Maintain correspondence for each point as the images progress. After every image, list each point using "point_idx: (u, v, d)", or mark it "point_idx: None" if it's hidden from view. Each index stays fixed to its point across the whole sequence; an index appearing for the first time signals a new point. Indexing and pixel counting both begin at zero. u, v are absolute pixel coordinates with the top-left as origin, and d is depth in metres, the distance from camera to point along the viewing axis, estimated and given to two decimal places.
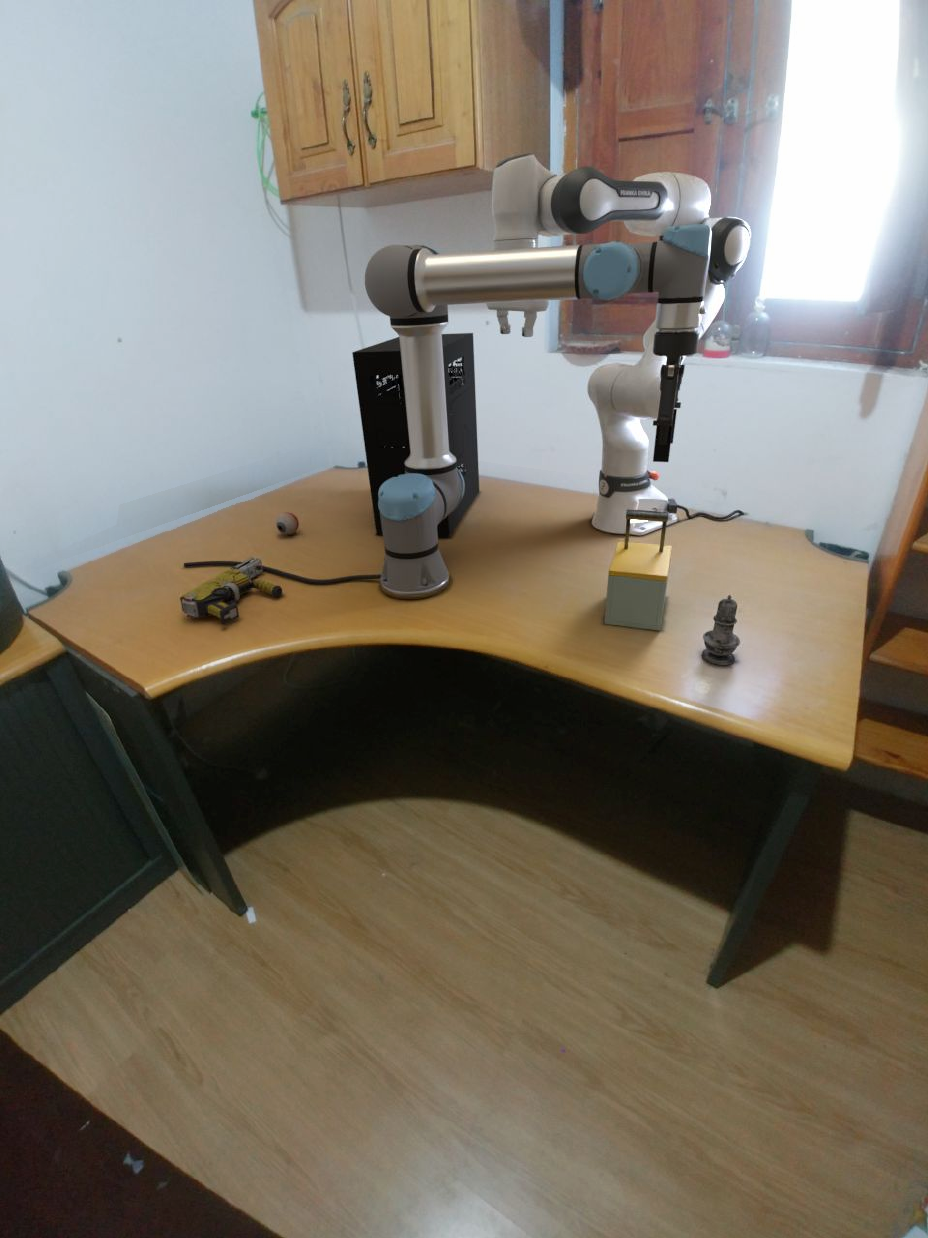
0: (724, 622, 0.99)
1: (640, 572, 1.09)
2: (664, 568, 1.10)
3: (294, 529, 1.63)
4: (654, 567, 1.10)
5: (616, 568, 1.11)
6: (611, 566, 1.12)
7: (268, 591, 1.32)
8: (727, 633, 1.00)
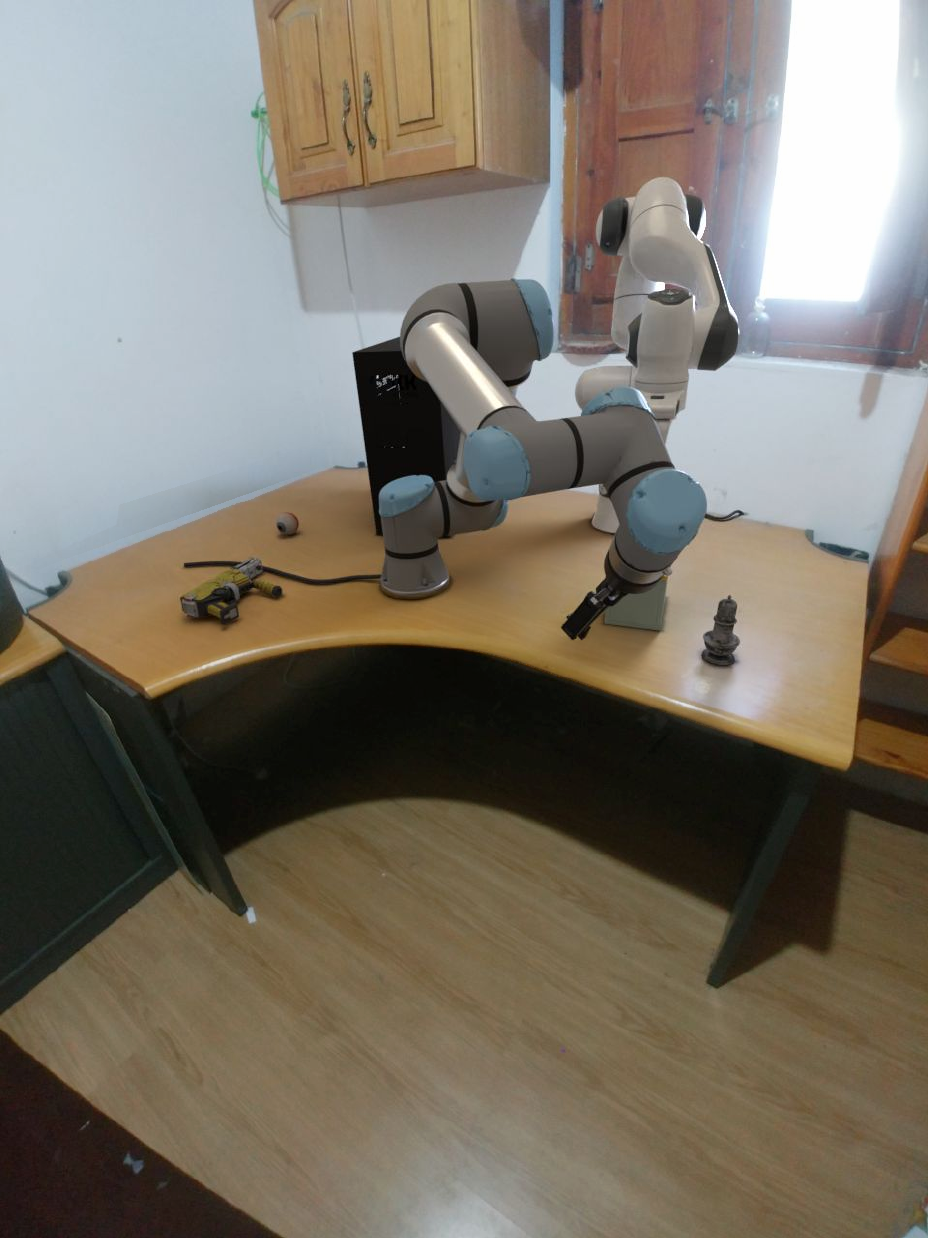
0: (724, 622, 0.99)
1: None
2: None
3: (294, 529, 1.63)
4: None
5: None
6: None
7: (268, 591, 1.32)
8: (727, 633, 1.00)
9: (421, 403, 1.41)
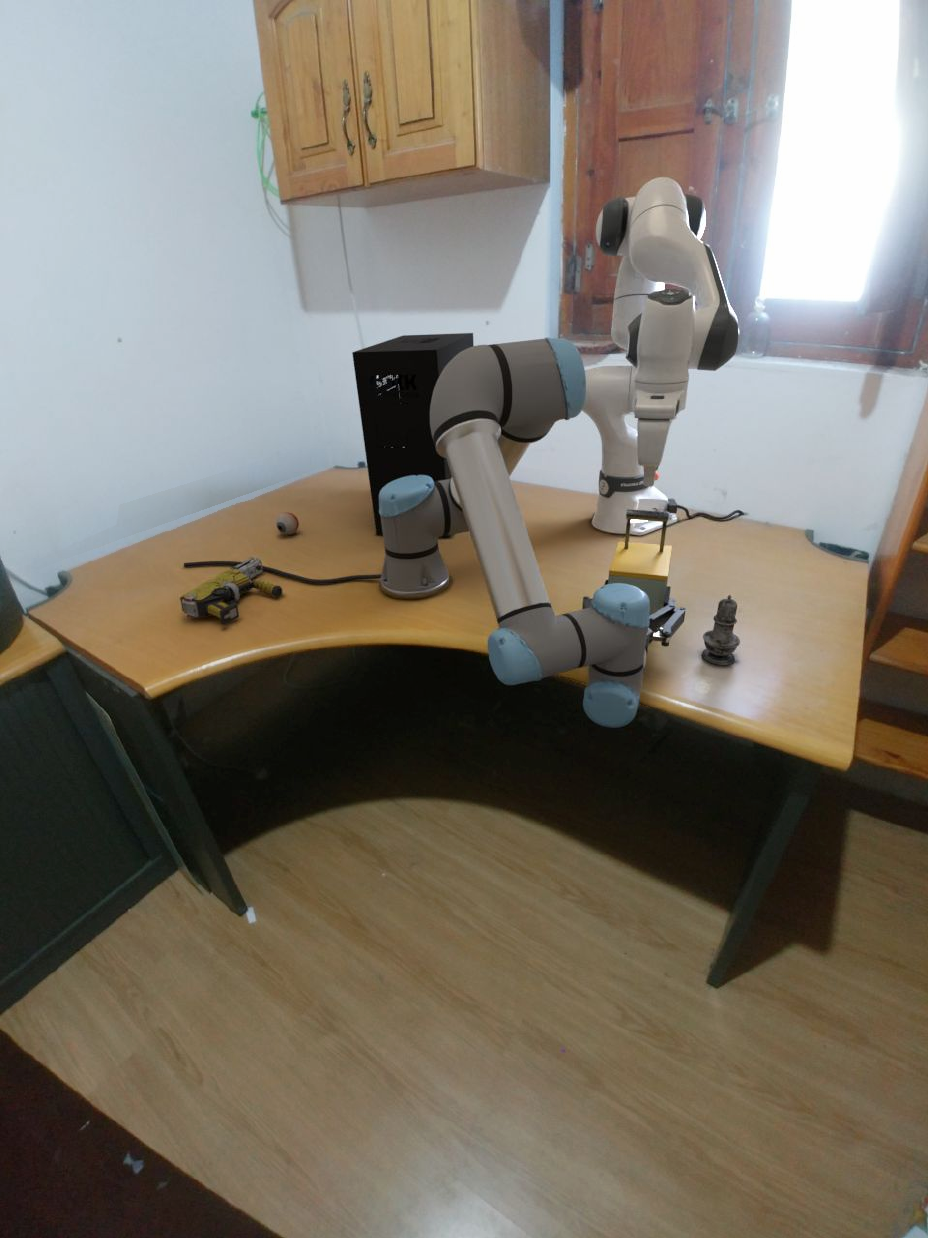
0: (724, 622, 0.99)
1: (640, 572, 1.09)
2: (664, 568, 1.10)
3: (294, 529, 1.63)
4: (655, 567, 1.10)
5: (617, 568, 1.11)
6: (611, 566, 1.12)
7: (268, 591, 1.32)
8: (727, 633, 1.00)
9: (421, 403, 1.41)
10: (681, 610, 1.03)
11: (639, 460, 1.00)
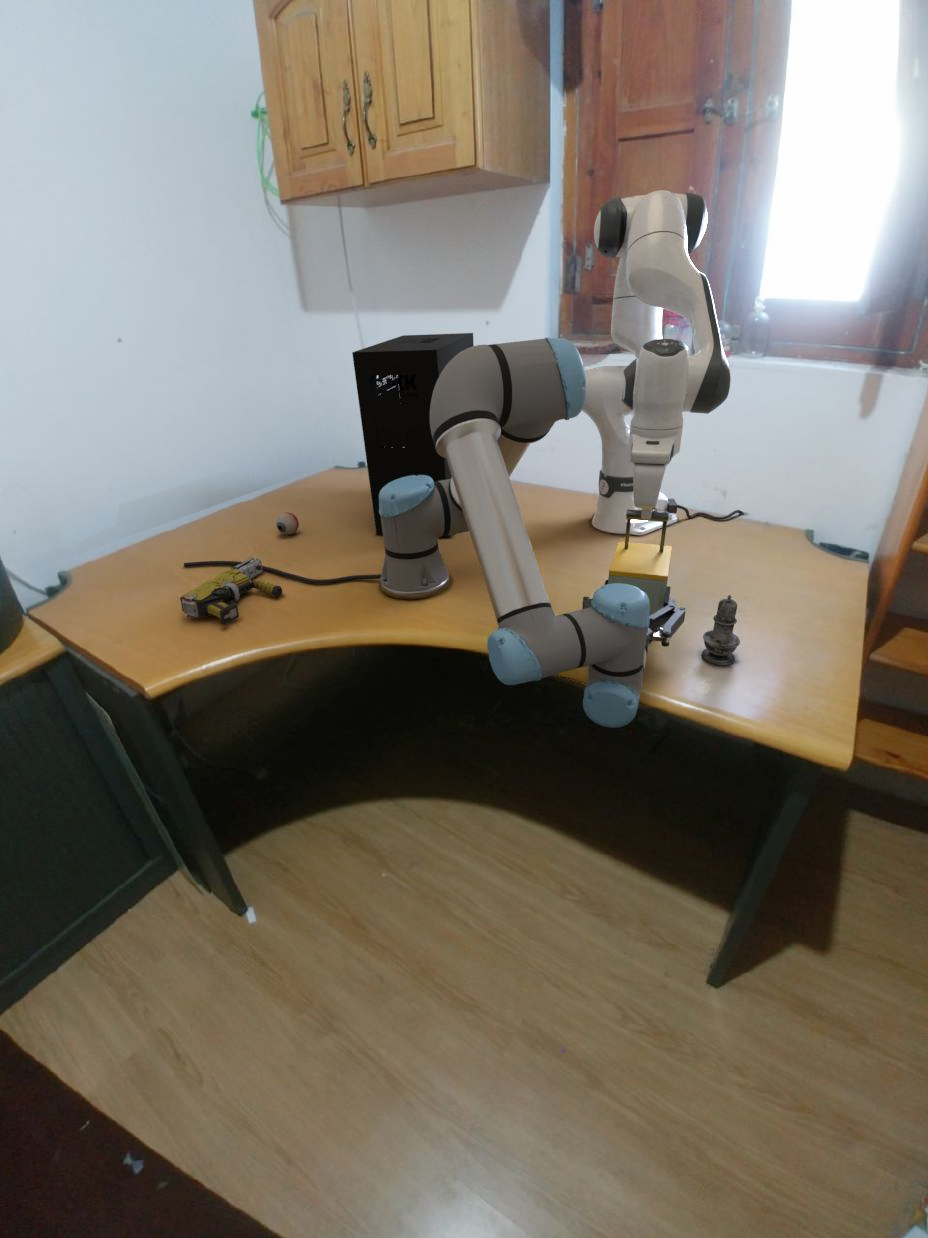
0: (724, 622, 0.99)
1: (640, 572, 1.09)
2: (664, 568, 1.10)
3: (294, 529, 1.63)
4: (655, 567, 1.10)
5: (617, 568, 1.11)
6: (611, 566, 1.12)
7: (268, 591, 1.32)
8: (727, 633, 1.00)
9: (421, 403, 1.41)
10: (681, 610, 1.03)
11: (636, 502, 1.03)
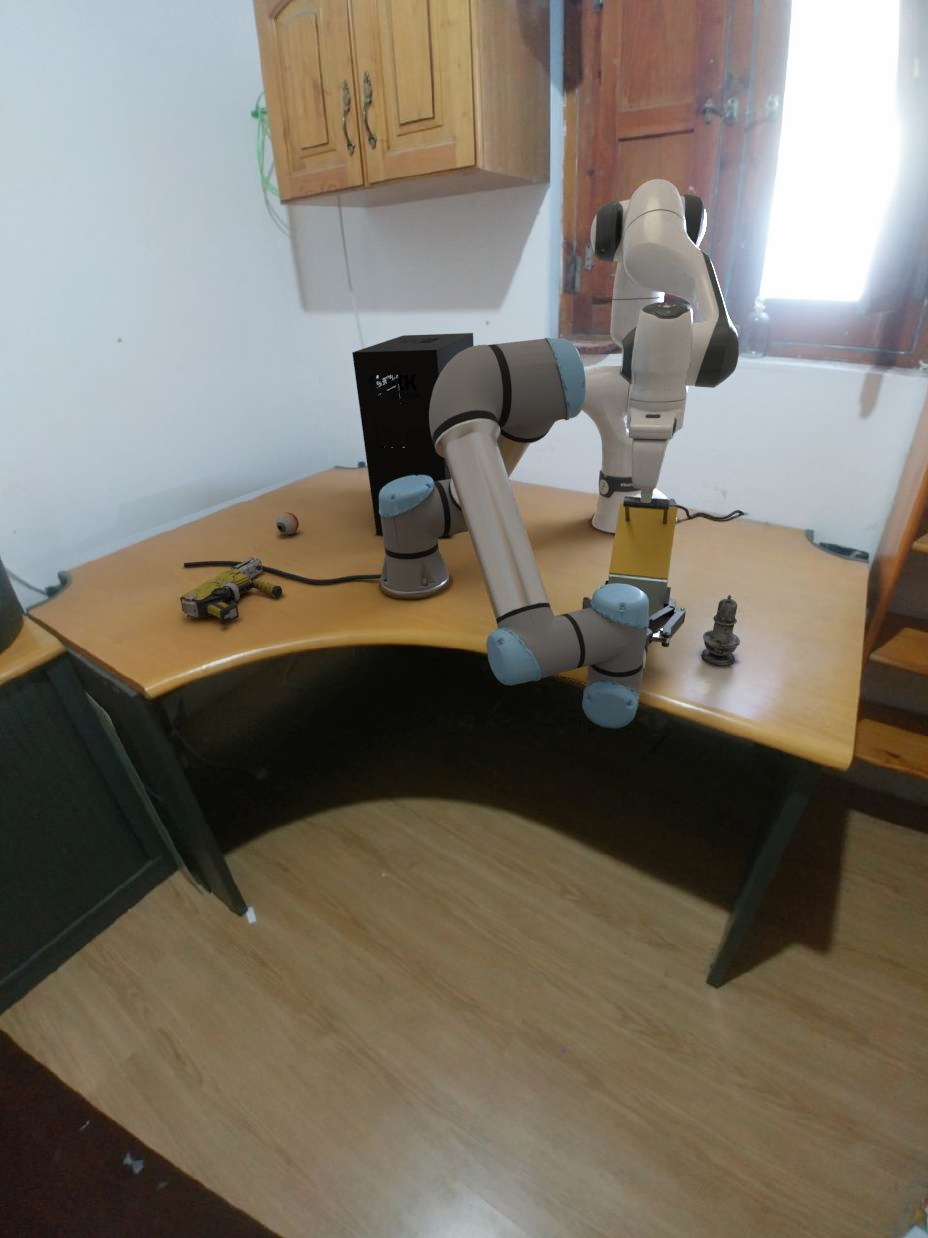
0: (724, 622, 0.99)
1: (640, 573, 1.08)
2: (665, 562, 1.08)
3: (294, 529, 1.63)
4: (656, 561, 1.08)
5: (616, 567, 1.10)
6: (611, 563, 1.10)
7: (268, 591, 1.32)
8: (727, 633, 1.00)
9: (421, 403, 1.41)
10: (681, 611, 1.03)
11: (634, 482, 0.93)
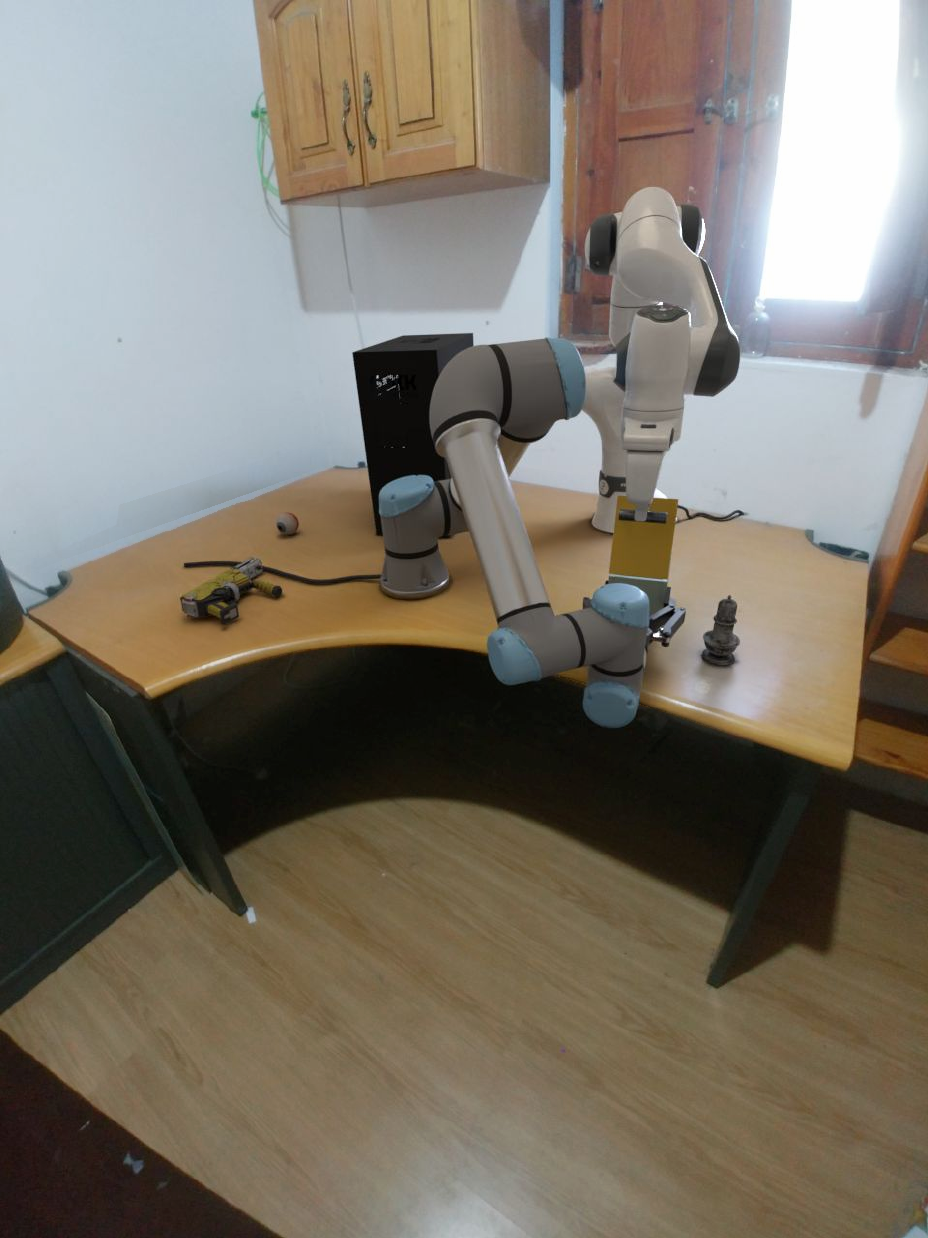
0: (724, 622, 0.99)
1: (640, 574, 1.08)
2: (665, 562, 1.06)
3: (294, 529, 1.63)
4: (655, 561, 1.07)
5: (616, 568, 1.09)
6: (611, 563, 1.09)
7: (268, 591, 1.32)
8: (727, 633, 1.00)
9: (421, 403, 1.41)
10: (681, 610, 1.03)
11: (628, 496, 0.87)
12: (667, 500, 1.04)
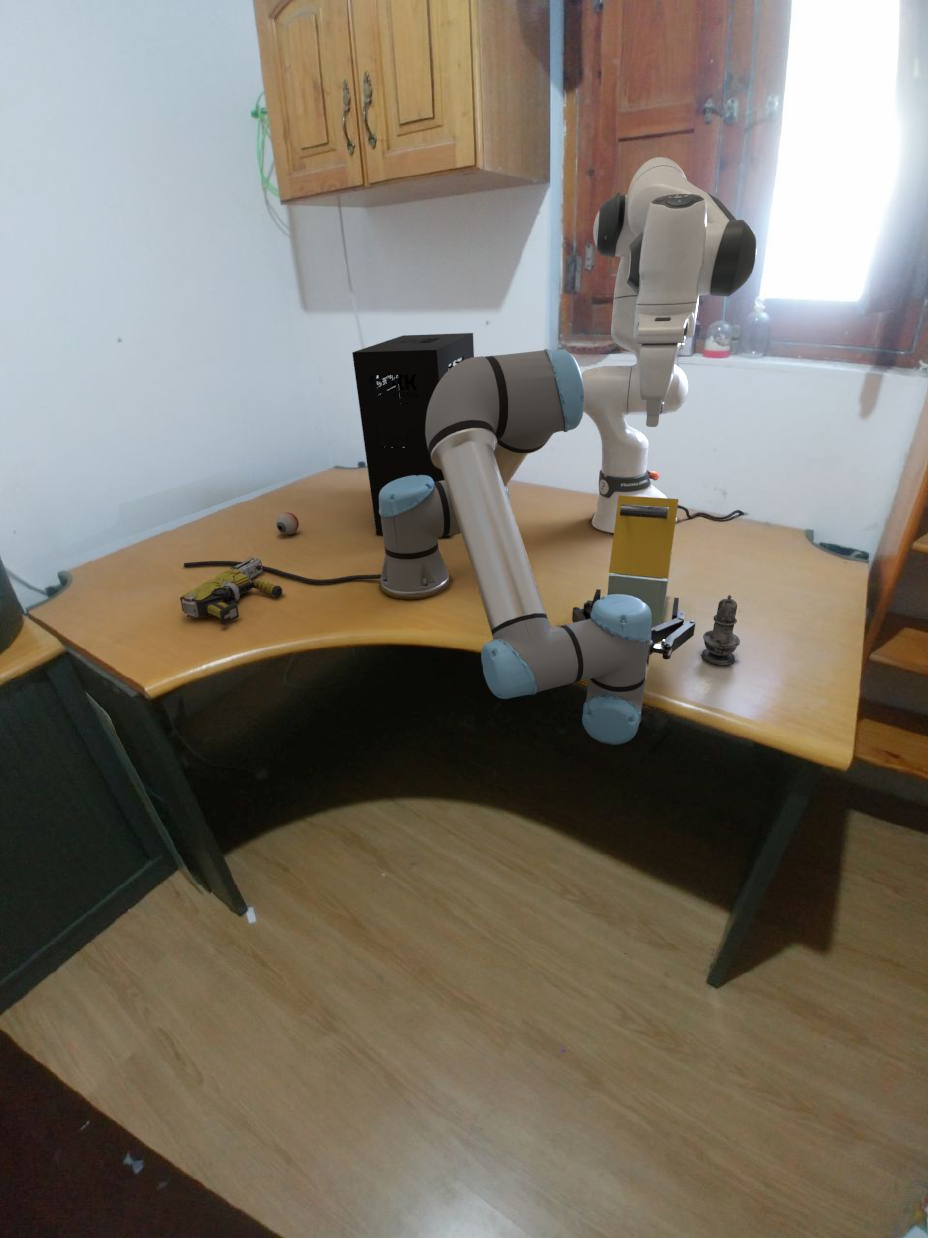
0: (724, 622, 0.99)
1: (640, 573, 1.08)
2: (665, 561, 1.07)
3: (294, 529, 1.63)
4: (656, 560, 1.07)
5: (616, 567, 1.09)
6: (611, 563, 1.10)
7: (268, 591, 1.32)
8: (727, 633, 1.00)
9: (421, 403, 1.41)
10: (690, 623, 0.99)
11: (642, 392, 0.87)
12: (667, 500, 1.06)
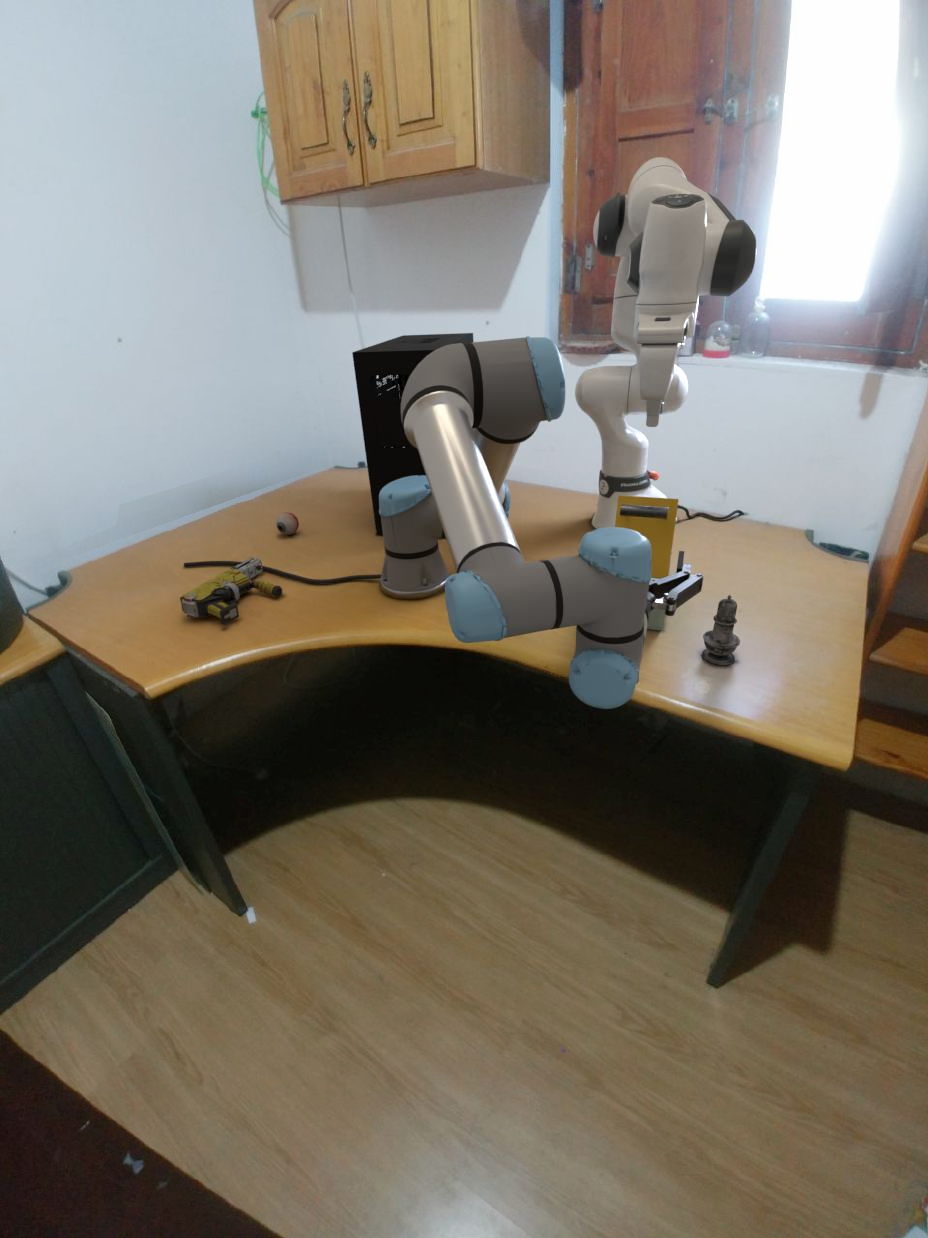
0: (724, 622, 0.99)
1: None
2: (665, 561, 1.07)
3: (294, 529, 1.63)
4: (656, 560, 1.07)
5: None
6: None
7: (268, 591, 1.32)
8: (727, 633, 1.00)
9: None
10: (697, 576, 0.86)
11: (642, 392, 0.87)
12: (667, 500, 1.06)
